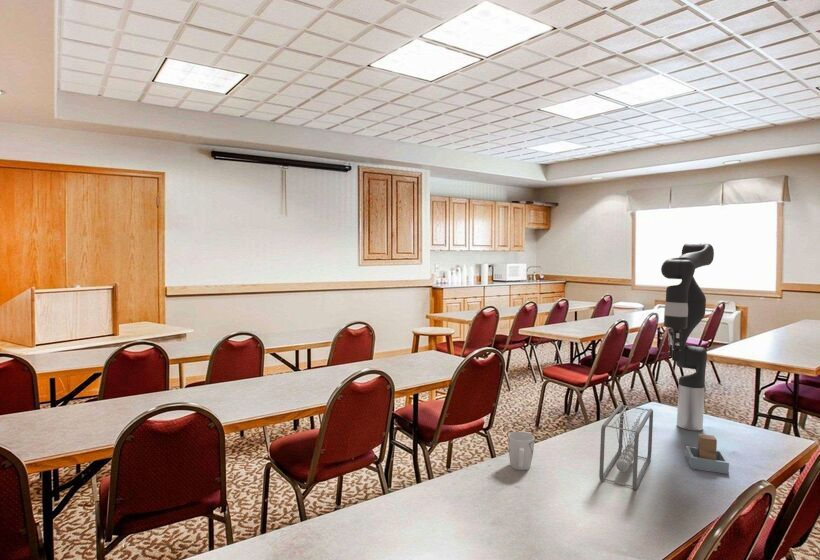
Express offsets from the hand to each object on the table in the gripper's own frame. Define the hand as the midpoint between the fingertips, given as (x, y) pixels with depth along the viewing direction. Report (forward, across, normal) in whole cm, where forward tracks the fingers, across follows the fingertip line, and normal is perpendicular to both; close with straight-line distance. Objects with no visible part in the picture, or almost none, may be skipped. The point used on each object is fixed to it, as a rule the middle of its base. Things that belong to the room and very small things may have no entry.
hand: (673, 358), depth 179 cm
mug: (+32, -43, +48) cm, 72 cm away
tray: (+32, -15, -9) cm, 37 cm away
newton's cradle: (+32, -30, +16) cm, 47 cm away
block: (+32, -15, -9) cm, 36 cm away
